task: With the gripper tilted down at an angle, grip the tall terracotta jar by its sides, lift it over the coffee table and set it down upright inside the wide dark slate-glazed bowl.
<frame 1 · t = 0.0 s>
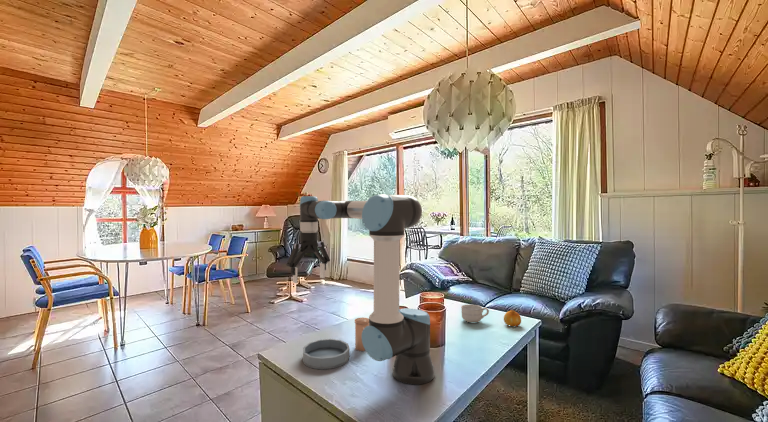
hand: (309, 280, 151), 28 cm above the table, tool pointing down, fingers open, 13 cm apart
terracotta jar: (362, 347, 148), on the table
teacup: (474, 322, 181), on the table
fruit: (512, 326, 176), on the table
slate bowl: (326, 358, 138), on the table
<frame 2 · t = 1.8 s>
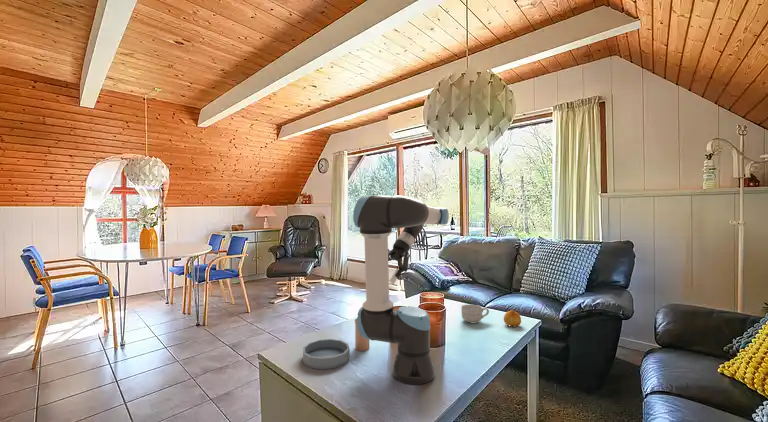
hand: (380, 280, 155), 27 cm above the table, tool tilted 45°, fingers open, 13 cm apart
nothing on the table moved.
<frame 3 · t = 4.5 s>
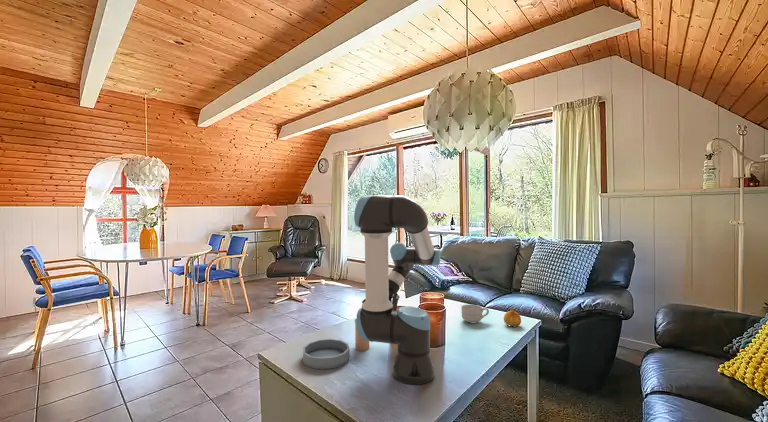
hand: (368, 323, 151), 10 cm above the table, tool tilted 45°, fingers open, 13 cm apart
nothing on the table moved.
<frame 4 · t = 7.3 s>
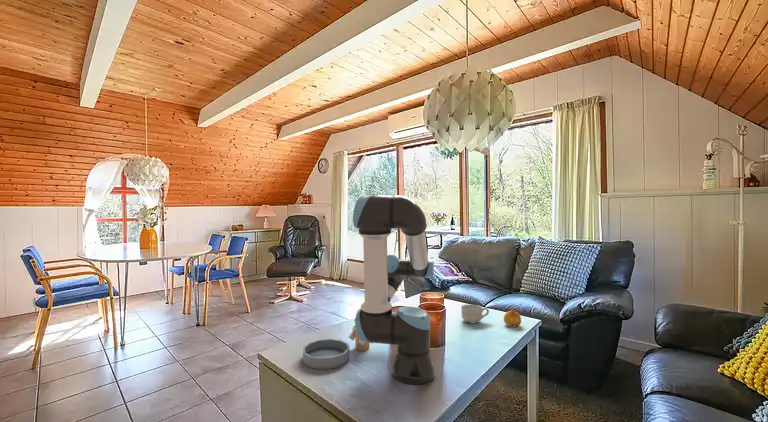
hand: (355, 341, 145), 4 cm above the table, tool tilted 45°, fingers closed on terracotta jar, 6 cm apart
terracotta jar: (362, 347, 148), on the table, touching gripper
everything else where it was.
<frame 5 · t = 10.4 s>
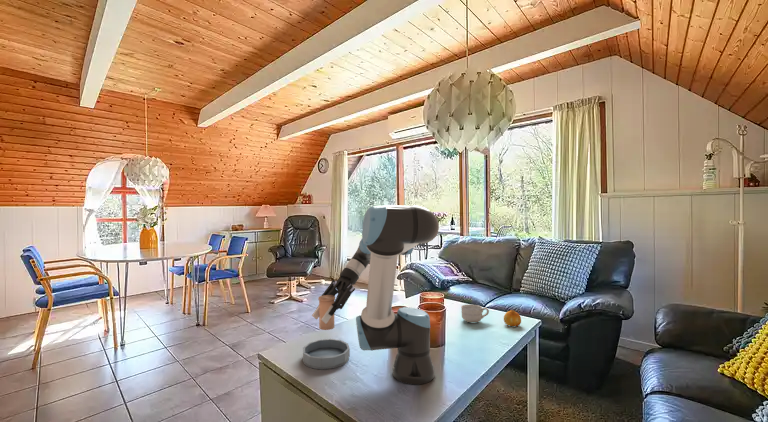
hand: (318, 319, 135), 16 cm above the table, tool tilted 45°, fingers closed on terracotta jar, 6 cm apart
terracotta jar: (326, 327, 138), point 12 cm above the table, touching gripper
everything else where it was.
when the fingers open (6 cm above the table, at t = 13.5 s): terracotta jar drops 1 cm, resting on slate bowl.
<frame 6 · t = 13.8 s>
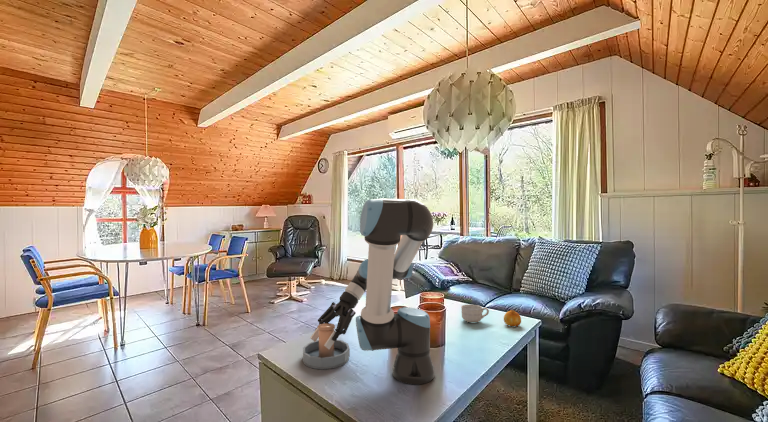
hand: (319, 343, 135), 7 cm above the table, tool tilted 45°, fingers open, 9 cm apart
terracotta jar: (326, 356, 138), point 1 cm above the table, touching slate bowl
everything else where it was.
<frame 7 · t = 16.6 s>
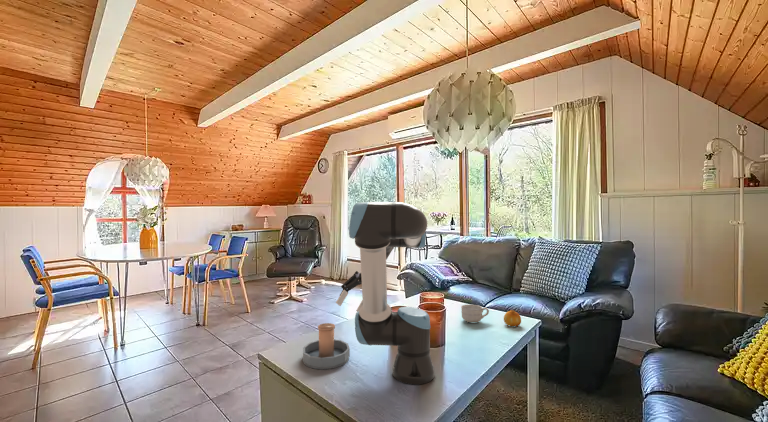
hand: (347, 308, 144), 18 cm above the table, tool tilted 40°, fingers open, 13 cm apart
nothing on the table moved.
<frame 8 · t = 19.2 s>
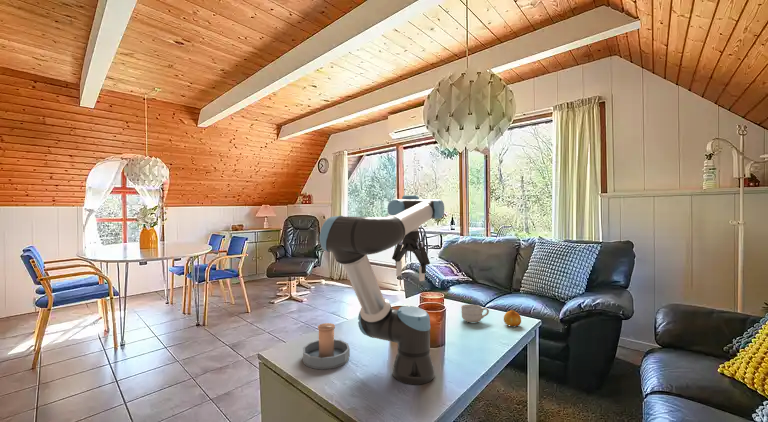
hand: (410, 278, 153), 29 cm above the table, tool pointing down, fingers open, 13 cm apart
nothing on the table moved.
at the end: terracotta jar inside the target area on the slate bowl (0.1 cm from its centre), point 1.0 cm above the slate bowl's base; terracotta jar tilted 0°; the gripper is holding nothing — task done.
